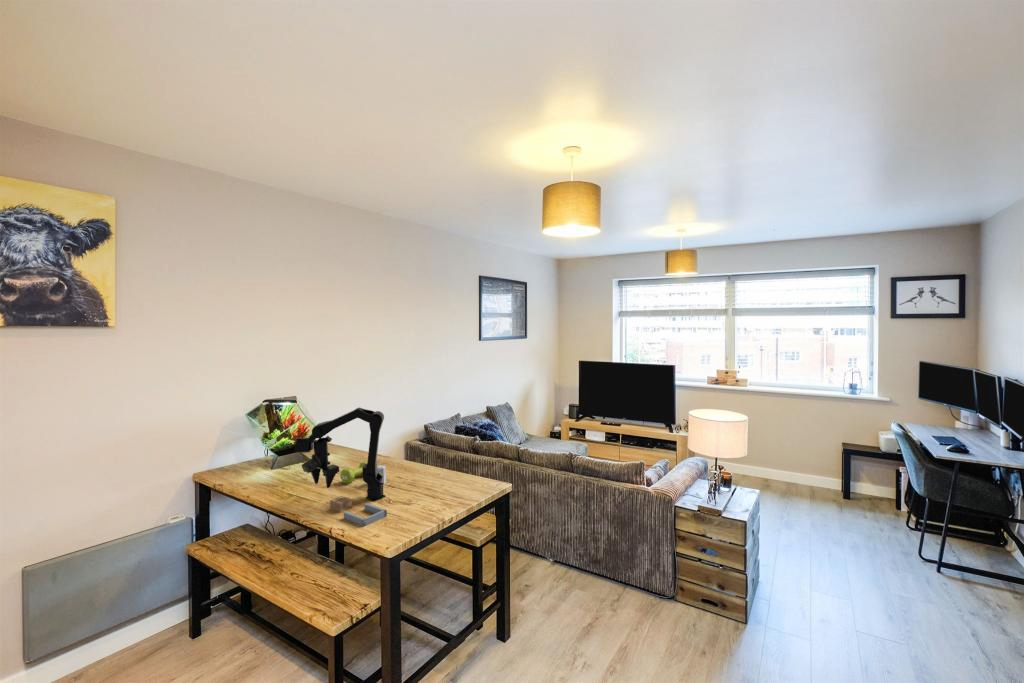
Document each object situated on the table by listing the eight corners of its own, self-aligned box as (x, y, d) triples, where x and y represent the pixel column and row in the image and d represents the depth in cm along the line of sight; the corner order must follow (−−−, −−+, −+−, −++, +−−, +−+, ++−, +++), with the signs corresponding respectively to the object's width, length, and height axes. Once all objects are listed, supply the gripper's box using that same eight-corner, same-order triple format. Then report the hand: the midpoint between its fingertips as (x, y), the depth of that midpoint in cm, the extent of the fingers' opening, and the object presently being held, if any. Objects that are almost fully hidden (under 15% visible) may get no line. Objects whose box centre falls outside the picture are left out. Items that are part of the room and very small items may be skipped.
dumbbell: (350, 485, 230) (349, 471, 229) (338, 483, 233) (338, 469, 233) (374, 475, 244) (373, 461, 244) (363, 473, 248) (362, 459, 248)
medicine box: (386, 482, 233) (385, 465, 233) (384, 485, 229) (383, 468, 229) (370, 482, 233) (369, 465, 233) (368, 485, 229) (367, 468, 228)
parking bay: (366, 508, 201) (366, 503, 201) (386, 515, 193) (386, 510, 193) (343, 518, 192) (343, 512, 191) (364, 526, 184) (363, 520, 184)
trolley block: (341, 504, 206) (341, 495, 206) (352, 508, 203) (352, 498, 202) (330, 509, 201) (330, 500, 201) (340, 513, 198) (340, 503, 197)
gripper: (292, 452, 208) (294, 487, 208) (316, 459, 197) (317, 495, 198) (315, 447, 217) (316, 479, 218) (339, 453, 206) (340, 487, 207)
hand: (322, 485), depth 210 cm, fingers open, 9 cm apart
